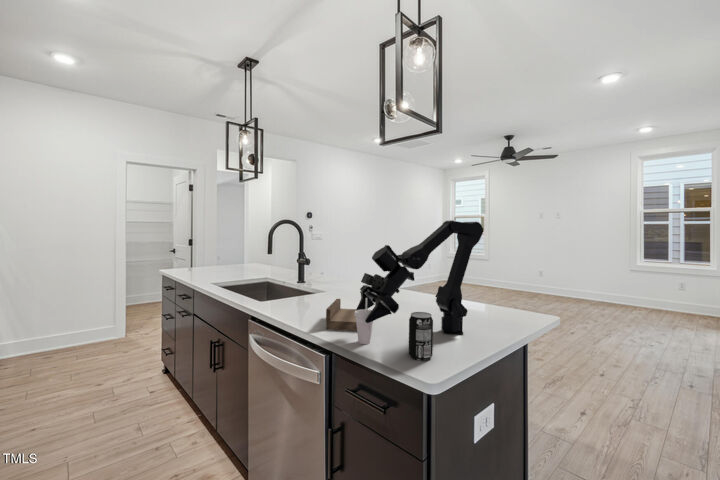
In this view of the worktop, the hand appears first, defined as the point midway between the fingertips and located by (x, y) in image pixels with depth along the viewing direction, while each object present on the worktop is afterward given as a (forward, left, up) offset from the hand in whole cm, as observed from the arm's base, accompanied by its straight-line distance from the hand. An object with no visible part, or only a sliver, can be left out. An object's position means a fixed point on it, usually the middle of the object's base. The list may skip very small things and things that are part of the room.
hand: (360, 318), depth 104 cm
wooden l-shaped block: (+7, -21, -8) cm, 23 cm away
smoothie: (-1, -1, -8) cm, 8 cm away
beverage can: (-18, +8, -8) cm, 22 cm away
